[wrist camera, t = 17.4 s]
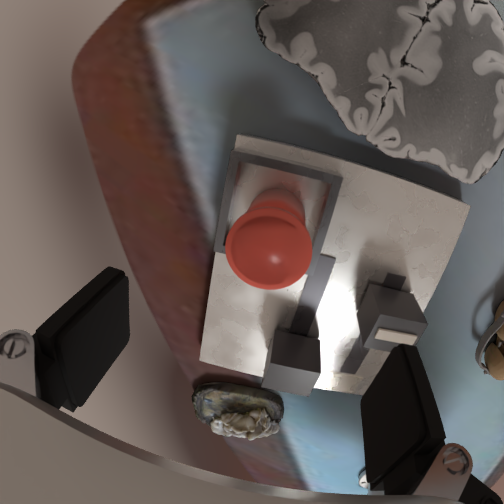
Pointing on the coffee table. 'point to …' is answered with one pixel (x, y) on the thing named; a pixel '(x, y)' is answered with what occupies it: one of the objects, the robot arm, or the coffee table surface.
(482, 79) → the brain slice
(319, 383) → the panel
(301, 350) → the breaker
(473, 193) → the coffee table surface
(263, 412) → the grey rough lump
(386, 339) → the block
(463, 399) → the coffee table surface
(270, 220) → the cap
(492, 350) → the alarm clock
